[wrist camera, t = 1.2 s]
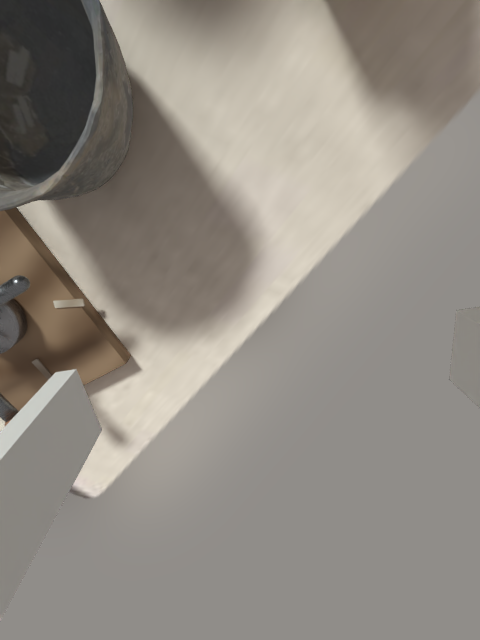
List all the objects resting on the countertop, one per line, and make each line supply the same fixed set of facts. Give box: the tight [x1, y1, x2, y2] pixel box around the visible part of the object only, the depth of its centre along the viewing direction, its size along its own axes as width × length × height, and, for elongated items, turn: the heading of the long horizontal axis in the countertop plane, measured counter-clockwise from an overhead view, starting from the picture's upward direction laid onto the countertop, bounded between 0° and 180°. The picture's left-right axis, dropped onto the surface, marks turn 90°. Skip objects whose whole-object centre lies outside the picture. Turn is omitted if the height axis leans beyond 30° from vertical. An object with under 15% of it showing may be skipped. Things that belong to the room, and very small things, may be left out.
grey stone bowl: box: [0, 0, 133, 211], centre depth 23 cm, size 18×18×15 cm
